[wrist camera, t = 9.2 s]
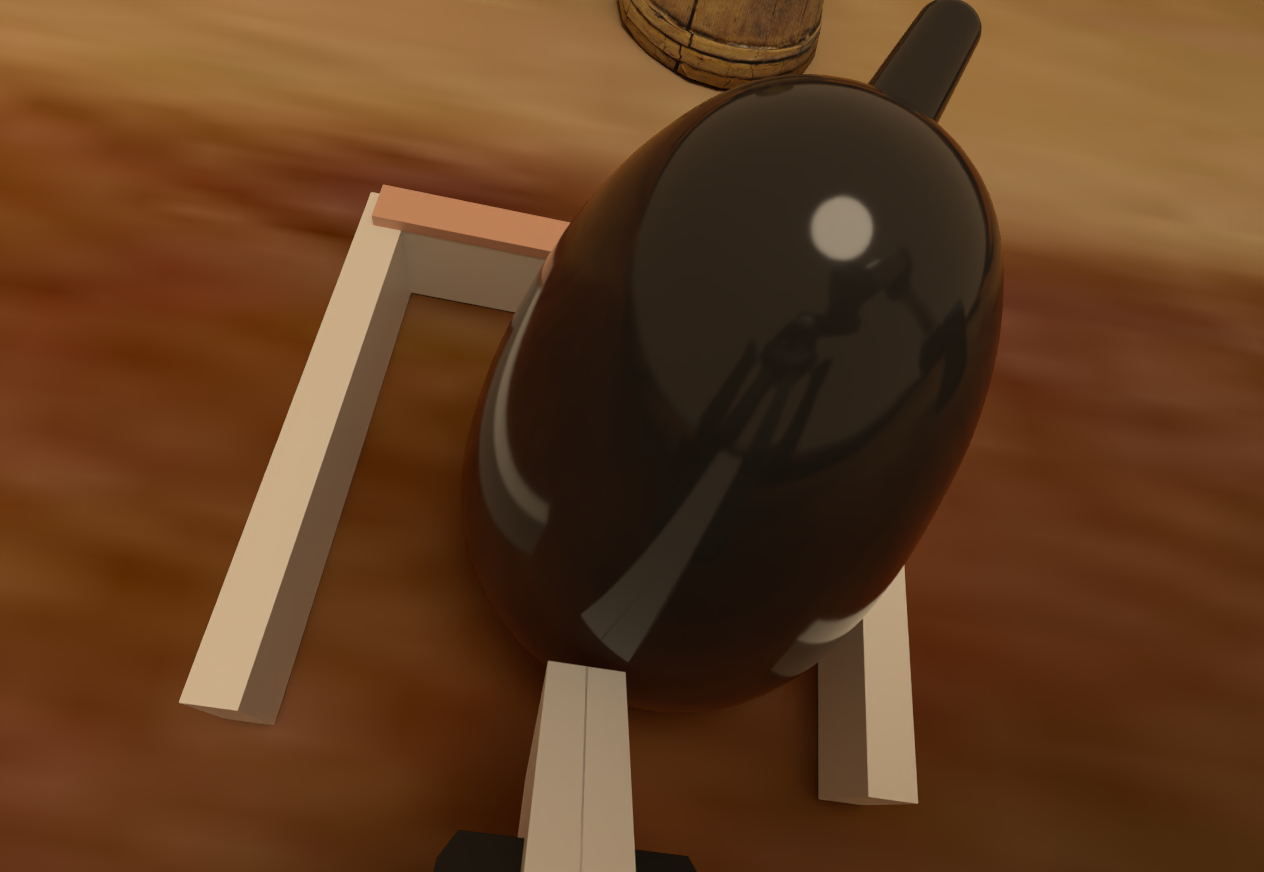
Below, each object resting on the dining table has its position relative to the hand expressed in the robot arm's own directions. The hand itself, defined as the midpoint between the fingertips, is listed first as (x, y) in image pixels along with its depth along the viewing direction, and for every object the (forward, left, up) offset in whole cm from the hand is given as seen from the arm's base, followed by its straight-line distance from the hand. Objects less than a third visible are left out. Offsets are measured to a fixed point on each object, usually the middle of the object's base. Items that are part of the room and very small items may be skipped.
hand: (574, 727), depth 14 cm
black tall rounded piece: (-2, -6, -6) cm, 8 cm away
